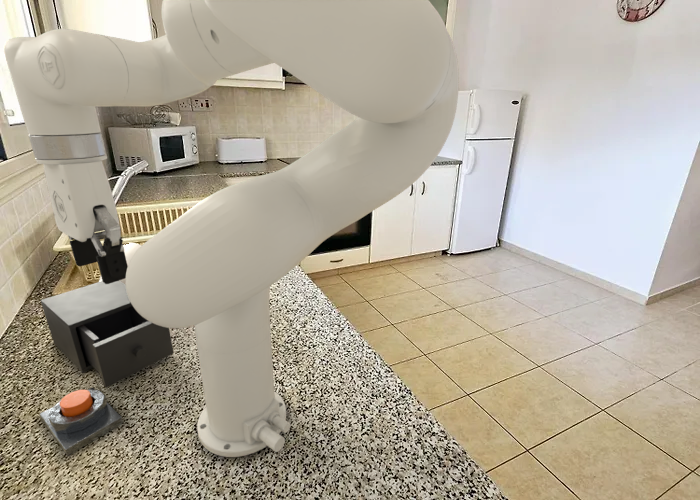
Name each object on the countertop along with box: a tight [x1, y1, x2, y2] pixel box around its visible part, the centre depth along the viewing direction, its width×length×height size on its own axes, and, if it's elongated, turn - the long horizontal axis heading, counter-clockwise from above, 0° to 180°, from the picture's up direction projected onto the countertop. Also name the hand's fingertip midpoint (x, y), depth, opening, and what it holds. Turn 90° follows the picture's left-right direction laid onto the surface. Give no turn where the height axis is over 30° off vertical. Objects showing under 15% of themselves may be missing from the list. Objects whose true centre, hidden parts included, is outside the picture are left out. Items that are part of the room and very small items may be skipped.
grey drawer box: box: [40, 281, 132, 374], centre depth 71 cm, size 14×13×10 cm
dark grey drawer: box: [76, 306, 174, 389], centre depth 66 cm, size 14×11×8 cm
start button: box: [59, 389, 93, 417], centre depth 53 cm, size 4×4×2 cm
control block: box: [39, 386, 124, 457], centre depth 54 cm, size 10×7×3 cm
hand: (102, 271), depth 54 cm, fingers open, 9 cm apart
